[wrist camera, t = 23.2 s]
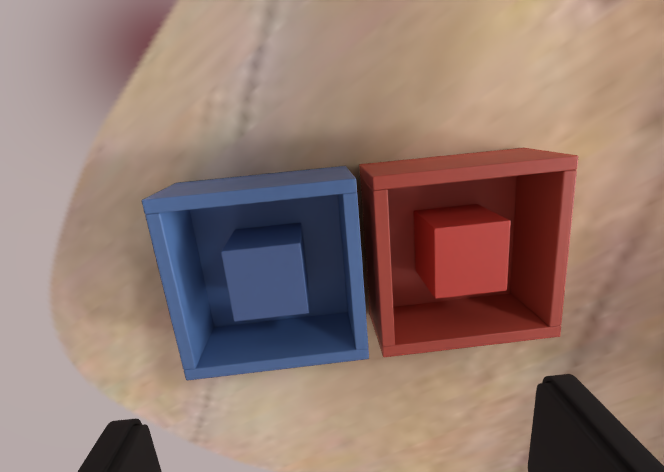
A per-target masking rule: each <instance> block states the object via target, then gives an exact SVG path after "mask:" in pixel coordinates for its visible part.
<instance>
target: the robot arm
mask: <svg viewBox="0 0 664 472" xmlns="http://www.w3.org/2000/svg"><path fill="white" fill-rule="evenodd" d="M78 472H161V469H160V465H159V462H158V458H157V455H156V451H155V448H154V445H153V441H152V438H151V434H150V431H149V428H148V426H147V425H142V423H141V421H140V420H139V419H129V420H118V421H112V422H110V423H109V424H108V425H107V427H106V428H105V430H104V431H103V433H102V434H101V436H100V437H99V439H98V440H97V442H96V444H95V445H94V447H93V448H92V450H91V451H90V453H89V455H88V456H87V458H86V459H85V461H84V463H83V464H82V466H81V467H80V469H79V470H78ZM528 472H664V466H663V465H662V464H661V463H660V462H659V461H658V460H657V459H656V458H655V457H654V456H653V455H652V454H651V453H650V452H649V451H648V450H647V449H646V448H645V447H644V446H643V445H642V444H641V443H640V442H639V441H638V440H637V439H636V438H635V437H634V436H633V435H632V434H631V433H630V432H629V431H628V430H627V429H626V428H625V427H624V426H623V425H622V424H621V423H620V422H619V421H618V420H617V419H616V417H615V416H614V415H613V414H612V413H611V412H610V411H609V410H608V409H607V408H606V407H605V406H604V405H603V404H602V403H601V402H600V401H599V400H598V399H597V398H596V397H595V396H594V395H593V394H592V393H591V392H590V391H589V390H588V389H587V388H586V387H585V386H584V385H583V384H582V383H581V382H580V381H579V380H578V379H577V378H576V377H574V376H573V375H571V374H564V375H555V376H547V377H545V378H544V379H543V382H542V383H540V384H538V386H537V390H536V399H535V408H534V416H533V425H532V434H531V442H530V451H529V460H528Z"/></svg>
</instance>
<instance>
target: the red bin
mask: <svg viewBox="0 0 664 472" xmlns="http://www.w3.org/2000/svg"><path fill="white" fill-rule="evenodd" d="M577 165H578V156H577V155H570V154H563V153H556V152H549V151H542V150H535V149H529V148H517V149H507V150H497V151H487V152H477V153H467V154H457V155H447V156H437V157H428V158H418V159H408V160H398V161H388V162H378V163H368V164H360V165H359V170H360V184H361V198H362V213H363V227H364V242H365V256H366V270H367V285H368V299H369V314H370V317H371V320H372V323H373V326H374V330H375V333H376V336H377V339H378V342H379V345H380V348H381V351H382V355H383V357H391V356H399V355H408V354H416V353H425V352H433V351H442V350H450V349H458V348H467V347H475V346H484V345H492V344H501V343H509V342H518V341H526V340H535V339H543V338H551V337H560V333H561V326H560V325H561V321H562V311H563V302H564V292H565V282H566V272H567V262H568V252H569V243H570V233H571V223H572V213H573V203H574V194H575V184H576V174H577V171H576V169H577ZM471 204H479V205H481V206H483V207H485V208H487V209H489V210H491V211H493V212H494V213H496V214H498V215H500V216H502V217H504V218H506V219H508V220H510V240H509V259H508V278H507V290H506V291H498V292H490V293H481V294H472V295H463V296H454V297H445V298H437V299H436V298H434V296H433V295H432V293H431V292H430V291H429V289H428V288H427V286H426V285H425V283H424V282H423V281H422V279H421V278H420V276H419V275H418V274H417V272H416V271H415V242H414V210H423V209H433V208H442V207H452V206H461V205H471Z"/></svg>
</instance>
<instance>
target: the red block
mask: <svg viewBox="0 0 664 472" xmlns="http://www.w3.org/2000/svg"><path fill="white" fill-rule="evenodd" d="M509 240H510V220H508V219H506V218H504V217H502V216H500V215H498V214H496V213H494V212H493V211H491V210H489V209H487V208H485V207H483V206H481V205H479V204H471V205H461V206H452V207H442V208H433V209H423V210H414V242H415V271H416V272H417V274H418V275H419V276H420V278H421V279H422V281H423V282H424V283H425V285H426V286H427V288H428V289H429V291H430V292H431V293H432V295H433V296H434V298H436V299H437V298H445V297H454V296H463V295H472V294H481V293H490V292H498V291H506V290H507V278H508V259H509Z"/></svg>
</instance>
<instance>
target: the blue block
mask: <svg viewBox="0 0 664 472" xmlns="http://www.w3.org/2000/svg"><path fill="white" fill-rule="evenodd" d="M221 255H222V260H223V266H224V271H225V276H226V281H227V287H228V292H229V297H230V302H231V308H232V313H233V318H234V321H244V320H253V319H262V318H271V317H279V316H288V315H297V314H306V313H309V290H308V275H307V266H306V258H305V250H304V241H303V233H302V225H301V223H291V224H282V225H272V226H263V227H253V228H244V229H235V230H234V232H233V233H232V235H231V237H230V238H229V240H228V241H227V243H226V245H225V246H224V248H223V249H222V251H221Z"/></svg>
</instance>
